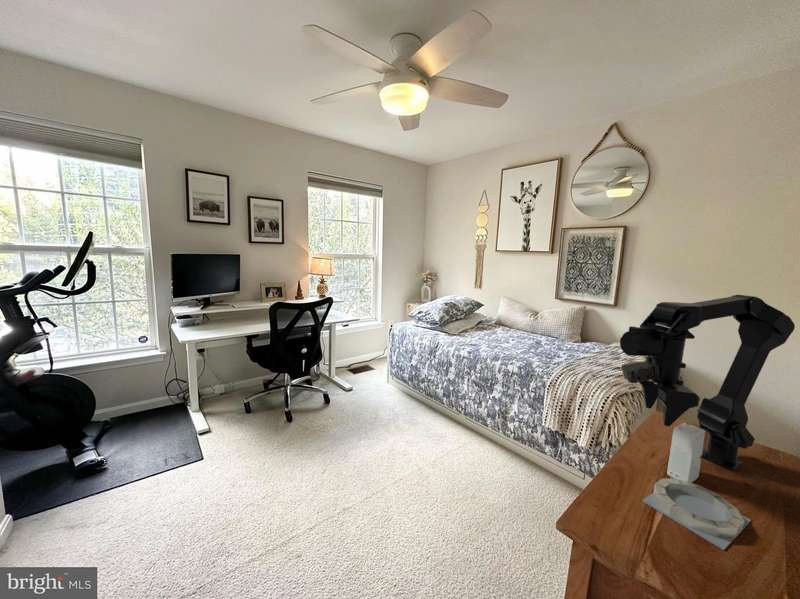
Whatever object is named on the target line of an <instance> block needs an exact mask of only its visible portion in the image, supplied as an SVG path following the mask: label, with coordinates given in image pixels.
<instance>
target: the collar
mask: <svg viewBox="0 0 800 599" xmlns="http://www.w3.org/2000/svg"><path fill="white" fill-rule="evenodd" d="M653 492H654V495H655V499H656V502H657V503H658V504H659V505H660V506H661V507H662V508H663V509H664V510H665V511H666V512H667V513H668V514H669V515H670V516H672V517H674V518H675V519H677V520H679V521H680V522H682V523H684V524H685V525H687V526H689V527H690V528H692V529H695V530H698V531H701V532H704V533H707V534H709V535H712V536H715V537H729V538H735V539H736V538H737V537H738V536H739V535H740V533H741V532H743V530H744V529H743V525H744V520H743V518H742V516H743V515H742V514H741V513H740V511H739V509H738V508H737V507H735V506H734V505H733V504H732V503H730V502H729V501H728V500H727V499H725V498H724V497H723V496H721V495H720V494H717V493H715V492H713V491H712V490H709V489H708V488H706V487H703V486H701V485H700V484H696V483H693V482H692V483H690V482H686V481H683V480H680V479H675V478H661V479H659V480H658V481H656V482H655V483H654V487H653ZM668 492H682V493H685V494H688V495H691V496H695V497H697V498H699V499H701V500H703V501H705V502H707V503H709V504H711V505H713V506H714V507H715V508H717V509H718V510H719V511H720V512H721V513H723V514H724V515H725V516H726V518H727V521H713V520H710V519H707V518H704V517H700V516H697V515H694V514H693V513H691V512H689V511H687V510H685V509H684V508H682V507H680V506H678V505H677V504H676V503H675V502H674V501H673V500H672V499H670V498H669V497H668V496H667V494H666V493H668ZM741 515H742V516H741Z"/></svg>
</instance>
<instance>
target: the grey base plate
mask: <svg viewBox="0 0 800 599" xmlns="http://www.w3.org/2000/svg"><path fill="white" fill-rule="evenodd" d="M666 494H667V496H668V497H669V498H670V499H672V500H673V501H674V502H675V503H676V504H677V505H678V506H680V507H682V508H684V509H685V510H687V511H689V512H691V513H693V514H694V515H697V516H700V517H704V518H707V519H710V520H713V521H727V518H726V516H725V515H724V514H723V513H721V512H720V511H719V510H718V509H717V508H715V507H714V506H713V505H711V504H709V503H707V502H705V501H703V500H701V499H699V498H697V497H695V496H691V495H688V494H685V493H682V492H668V493H666ZM641 501H642V503H644V504H646V506H647V505H648V506H649V507H651V508H653V509H654V510H655V511H657V512H659V513H661V514H662V515H664V516H666V517H667V518H669V519H671V520H672V521H674V522H676V523H678V524H679V525H680V526H682V527H684V528H685V529H687V530H689V531H691V532H692V533H694V534H696V535H698V537H700V538H702V539H703V540H706V541H707V542H709V543H710V544H712V545H714V546H716V547H718V548H719V549H721V550H723V551H725V550H726V549H728V547H729V545H730V544H731V543H732V542H733V541H734V540H735V539H736V538H729V537H715V536H712V535H709V534H707V533H704V532H701V531H698V530H695V529H692V528H690V527H689V526H687V525H685V524H684V523H682V522H680V521H679V520H677V519H675V518H674V517H672V516H670V515H669V514H668V513H667V512H666V511H665V510H664V509H663V508H662V507H661V506H660V505H659V504H658V503H657V502H656V499H655V495H654V491H653V492H652V493H650V494H649V495H647V496H646V497H645V498H643V499H642V500H641ZM741 516H742V518H743V520H744V525H743V530H745V528H746V526H748V525H749V523H750V522H751V519H750V518H748V517H746V516H744V515H742V514H741Z"/></svg>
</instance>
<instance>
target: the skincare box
mask: <svg viewBox="0 0 800 599" xmlns="http://www.w3.org/2000/svg"><path fill="white" fill-rule="evenodd" d="M705 436H706V431H705V430H703V429H701V428H700V427H699V426H698V427H697V426H694V425H692V424H689V423H686V422H684V423H681V424H678V425H677V426H675V427H674V428H673V430H672V437H671V444H670V451H669V456H668V457H669V458H668V464H667V471H666V474H667V475H668V476H670V477H672V478H673V479H680V480H683V481H686V482H690V483H693V482H694V481H696V480H697V479H698V478H699V475H700V469H701V462H702V458H703V457H702V452H703V451H704V444H705Z"/></svg>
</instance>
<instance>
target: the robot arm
mask: <svg viewBox="0 0 800 599" xmlns="http://www.w3.org/2000/svg"><path fill="white" fill-rule="evenodd" d="M726 317H733V319H734V320H735V321H737V323H739V326H738V329H737V332H738V335H739V339H740V342H741V343H740V346H739V347H738V349H737V352H736V354H735V355H734V356H735V357H734V358H733V360H732V363H731V365H730V367H729V369H728V370H727V374H726V376H725V378H724V379H723V382H722V385H721V386H720V388H719V389H718V390H719V391H718V393H717V395H714V396H712V397H710V398H707V397H704V398H703V399H702V400H701V398H700V396H699V395H698V394H697V392H694V391H693V390H692V389H690V388H689V387H685V386H683V384H684V381H683V379H681V378H680V374H681V369H686V366H687V363H685V362H683V358H684V353H685V352H684V351H685V346H686V340H690V339H691V340H693V339H695V337H696V336H695V335H694V334H693V333H692V332H690V331H689V330H691V329H694V328H696V327H698V326H700V325H701V324H702V323H703V322H705V321H710V320H716V319H721V318H726ZM795 328H796V326H795V323H794V321H793V320H792V318H791V317H790V316H789V315H786V314H785V313H784V312H783V311H781V310H779V309H777V308H775V307H773V306H771V305H769V304H767V303H766V302H765V301H764V300H763V298H760V297H757V296H752V295H746V294H745V295H744V294H733V295H731V296H727V297H722V298H721V297H720V298H715V299H709V300H703V301H697V302H692V303H691V302H676V301H675V302H674V301H662V302H659V303H656V305H655V307H654V309H653V310H652V311H651V312H650V313H649V315H647V317H646V318H645V319H644V320H643V322H642V323H641V324H639V326H638V327H637V326H629V327H628V331H626V332H624V333H623V334H622V335H621V337H620V340H619V345H620V349H621V350H622V352H623V354H625V355H627V356H629V357H633V356H634V357H641V356H643V357H645V361H638V362H637V361H635V362H632V363H627V364H622V365H621V370H622V375H623V378H624V379H625V380H627V381H628V383H630V384H638V383H639V384H640V385H641V389H642V394H643V399H644V404H645V409H652V408H653V406H654V405H655V404H656V401H657V400H659V401H660V402H661V404H662V405H663V406H662V407H663V410H662V411H663V413H662V418H663V419H662V420H663V425H664V426H665V427H671V426H672V425H673V424H674V423H675V422H676V421H677V420H678V419H679V418H680V417H681V416H682V415H684V413H686V412H687V411H688V410H689V409H693V408H697V410H696V411H697V416H696V418H697V419H698V424H699V428H701V429H703V430H705V433H708V437H707V443H706V448H705V450H704V449H703V451H702V457H701V458H704V459H706V460H709V461H711V462H713V463H716V464H718V465H720V466H722V467H725V468H727V469H729V470H732V471H734V470H735V469H736V468H737V467H739V466H740V465H741V464H742V462H743V461H742V460H740V459H738V456H739V450H740V448H741V449H744V450H746V449H748V448H751V447H752V446H753V444H754V442H755V440H756V439H755V437H754V436H753V435H752V433H751V432H750V431H749V429H748V428H746V427H747V424H748V422H749V417H748V414H747V409H746V406H745V405H746V403H747V400H748V399H749V397H750V394H751V393H752V390H753V387H754V386H755V384H756V382H757V380H758V377H759V376H760V373H761V371H762V369H763V367H764V364H765V363H766V361H767V359H768V357H769V354H770V353H771V351H772V350H775V349H776V348H778V347H780V346H782V345H784V344H785V343H786V342H787V340H788V339H789V337H790V336H791V335H792V333H794V331H795ZM677 385H678V386H677ZM700 401H701V402H700Z"/></svg>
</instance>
